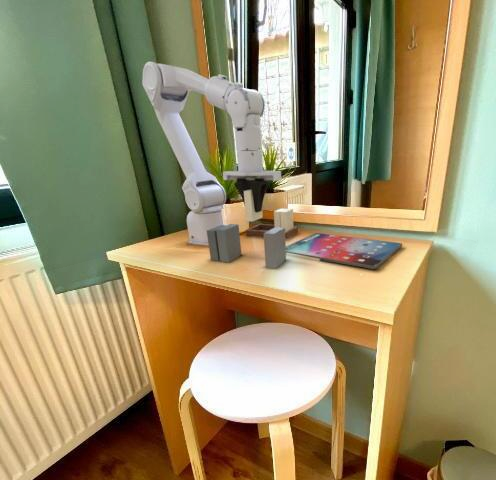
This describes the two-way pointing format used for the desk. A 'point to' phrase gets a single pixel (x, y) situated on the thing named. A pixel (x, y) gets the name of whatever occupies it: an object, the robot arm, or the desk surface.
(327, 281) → the desk surface
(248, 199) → the white book
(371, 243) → the tablet
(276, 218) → the white books
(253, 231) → the book tray
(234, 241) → the grey books
